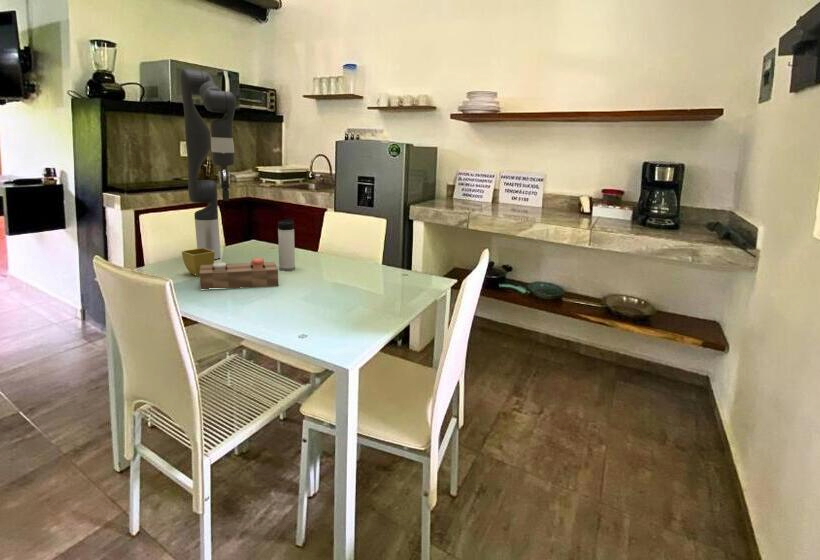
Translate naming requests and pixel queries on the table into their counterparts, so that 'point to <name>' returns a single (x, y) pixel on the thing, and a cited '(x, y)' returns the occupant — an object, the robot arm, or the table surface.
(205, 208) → the robot arm
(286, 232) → the travel mug
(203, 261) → the flower pot
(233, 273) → the block
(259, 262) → the red plug
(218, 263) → the grey plug
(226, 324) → the table surface
